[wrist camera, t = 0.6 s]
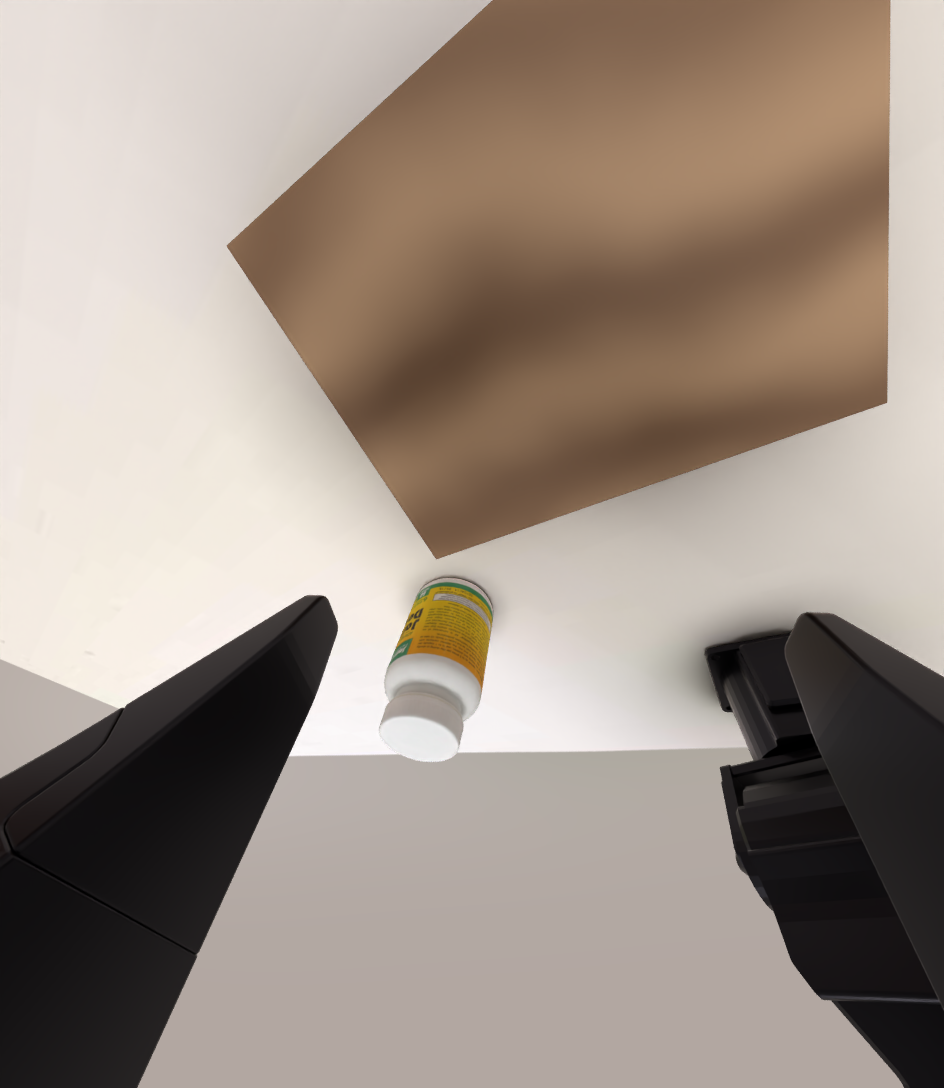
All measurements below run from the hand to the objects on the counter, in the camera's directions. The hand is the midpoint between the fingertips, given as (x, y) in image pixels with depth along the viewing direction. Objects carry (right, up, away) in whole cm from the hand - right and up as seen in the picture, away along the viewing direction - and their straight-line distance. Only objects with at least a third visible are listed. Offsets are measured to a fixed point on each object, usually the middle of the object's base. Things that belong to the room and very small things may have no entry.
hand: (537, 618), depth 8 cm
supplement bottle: (-2, -3, +19) cm, 20 cm away
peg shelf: (+2, +11, +9) cm, 14 cm away
